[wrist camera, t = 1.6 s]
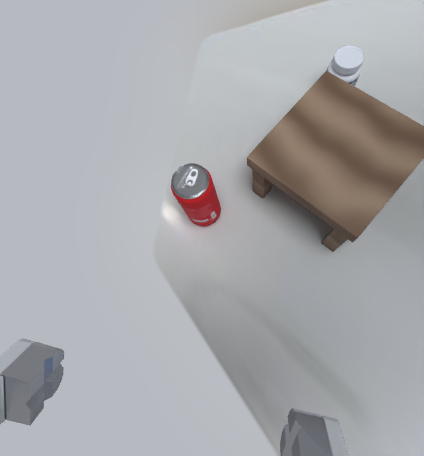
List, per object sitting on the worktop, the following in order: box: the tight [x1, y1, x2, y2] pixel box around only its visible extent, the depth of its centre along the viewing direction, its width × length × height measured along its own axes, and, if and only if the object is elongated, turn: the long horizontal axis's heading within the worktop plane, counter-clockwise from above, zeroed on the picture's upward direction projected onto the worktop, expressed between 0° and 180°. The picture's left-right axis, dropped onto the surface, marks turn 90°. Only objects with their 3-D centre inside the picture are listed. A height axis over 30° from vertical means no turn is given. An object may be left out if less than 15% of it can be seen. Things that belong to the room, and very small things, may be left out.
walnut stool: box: [247, 71, 424, 251], centre depth 43 cm, size 16×16×11 cm
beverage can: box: [171, 163, 221, 226], centre depth 44 cm, size 5×5×12 cm
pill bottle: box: [327, 46, 364, 86], centre depth 48 cm, size 5×5×8 cm
